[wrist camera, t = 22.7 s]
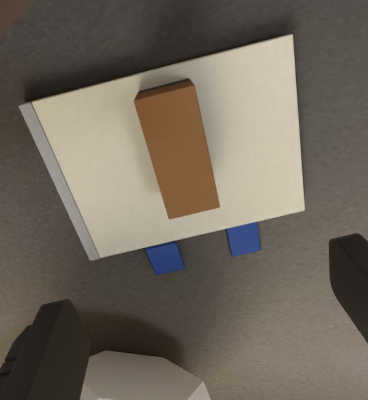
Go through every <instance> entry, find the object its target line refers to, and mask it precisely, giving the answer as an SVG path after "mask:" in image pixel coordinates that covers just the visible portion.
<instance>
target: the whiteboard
mask: <svg viewBox="0 0 368 400" xmlns="http://www.w3.org/2000/svg"><path fill="white" fill-rule="evenodd" d="M187 78H189V79H190V80H191V81H192V82H193V84H194V85H195V88H196V93H197V97H198V102H199V107H200V112H201V117H202V121H203V126H204V131H205V136H206V141H207V146H208V150H209V155H210V160H211V165H212V170H213V174H214V179H215V184H216V189H217V194H218V198H219V203H220V208H216V209H212V210H208V211H204V212H199V213H195V214H191V215H187V216H183V217H178V218H174V219H169V218H168V215H167V212H166V208H165V205H164V202H163V198H162V195H161V192H160V188H159V185H158V182H157V178H156V175H155V172H154V168H153V165H152V162H151V158H150V155H149V151H148V148H147V145H146V141H145V138H144V135H143V131H142V128H141V125H140V121H139V118H138V115H137V111H136V108H135V105H134V99H135V97H136V95H137V93H138V91H141V90H145V89H149V88H152V87H156V86H160V85H164V84H168V83H172V82H176V81H180V80H183V79H187ZM19 108H20V110H21V113H22V115H23V117H24V119H25V121H26V123H27V126H28V128H29V130H30V132H31V134H32V136H33V139H34V141H35V143H36V145H37V147H38V149H39V152H40V154H41V156H42V158H43V160H44V162H45V165H46V167H47V169H48V171H49V173H50V175H51V178H52V180H53V182H54V184H55V186H56V188H57V191H58V193H59V195H60V197H61V199H62V201H63V204H64V206H65V208H66V210H67V212H68V214H69V216H70V219H71V221H72V223H73V225H74V227H75V229H76V232H77V234H78V236H79V238H80V240H81V242H82V245H83V247H84V249H85V251H86V253H87V255H88V258H89V260H90V261H92V260H96V259H100V258H102V257H107V256H111V255H115V254H120V253H124V252H128V251H132V250H137V249H141V248H145V247H150V246H154V245H158V244H163V243H167V242H171V241H175V240H180V239H184V238H188V237H193V236H197V235H201V234H206V233H210V232H214V231H218V230H223V229H227V228H231V227H236V226H240V225H244V224H248V223H253V222H257V221H261V220H266V219H270V218H274V217H279V216H283V215H287V214H291V213H296V212H300V211H304V210H305V207H304V192H303V177H302V163H301V148H300V134H299V119H298V105H297V90H296V75H295V61H294V46H293V35H292V34H289V35H283V36H280V37H276V38H272V39H268V40H264V41H260V42H257V43H253V44H249V45H245V46H241V47H237V48H233V49H230V50H226V51H222V52H218V53H214V54H210V55H207V56H203V57H199V58H195V59H191V60H187V61H184V62H180V63H176V64H172V65H168V66H164V67H161V68H157V69H153V70H149V71H145V72H141V73H137V74H134V75H130V76H126V77H122V78H118V79H114V80H111V81H107V82H103V83H99V84H95V85H91V86H88V87H84V88H80V89H76V90H72V91H68V92H64V93H61V94H57V95H53V96H49V97H45V98H41V99H38V100H34V101H30V102H26V103H23V104H21V105H19Z"/></svg>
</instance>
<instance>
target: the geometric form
mask: <svg viewBox="0 0 368 400" xmlns="http://www.w3.org/2000/svg"><path fill="white" fill-rule="evenodd" d="M80 400H211V399H210V397H209V394H208V392H207V389H206V387H205V384H204V382H203V381H202V380H201V379H199V378H197V377H195V376H194V375H192V374H190V373H189V372H187V371H185V370H184V369H182V368H180V367H179V366H177V365H175V364H173V363H172V362H170V361H168V360H167V359H165V358H163V357H155V356H147V355H139V354H131V353H123V352H114V351H103V352H101V353H98V354H95V355H93V356H90V357H89V361H88V366H87V370H86V374H85V379H84V383H83V387H82V392H81V396H80Z"/></svg>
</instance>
